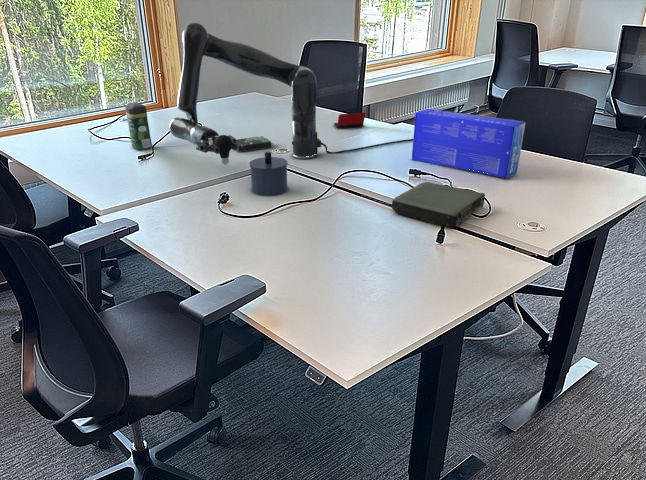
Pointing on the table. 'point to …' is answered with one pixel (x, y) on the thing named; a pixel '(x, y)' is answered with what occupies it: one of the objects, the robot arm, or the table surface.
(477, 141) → the blue cardboard box
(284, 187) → the pot
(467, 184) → the table surface
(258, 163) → the pot lid
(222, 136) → the light bulb
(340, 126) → the handheld console
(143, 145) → the coffee jar
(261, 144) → the disk drive
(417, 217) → the network switch
